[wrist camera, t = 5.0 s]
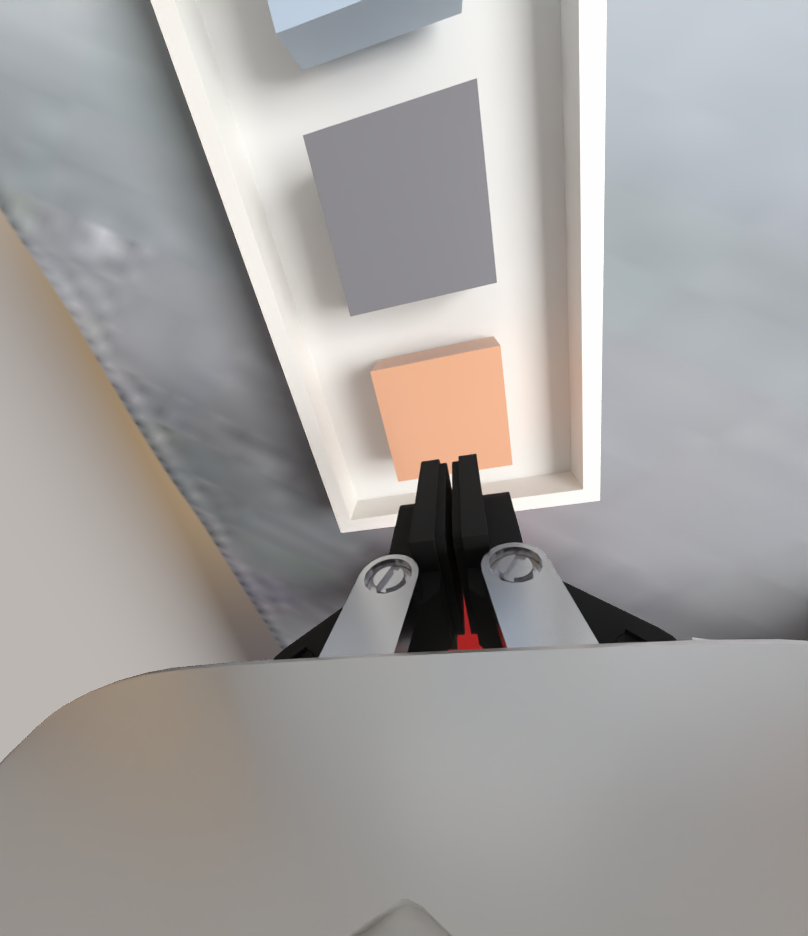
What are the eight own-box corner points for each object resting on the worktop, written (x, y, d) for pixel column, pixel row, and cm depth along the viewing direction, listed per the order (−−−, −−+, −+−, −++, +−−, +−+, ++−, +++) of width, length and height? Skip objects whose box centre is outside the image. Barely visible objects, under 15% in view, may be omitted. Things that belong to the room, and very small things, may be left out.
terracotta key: (493, 336, 18) (500, 345, 16) (505, 444, 20) (512, 465, 18) (378, 359, 19) (369, 371, 17) (402, 460, 21) (398, 481, 19)
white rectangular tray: (570, -470, 10) (616, -743, 7) (581, 472, 22) (599, 500, 19) (115, -216, 12) (25, -348, 10) (352, 504, 25) (341, 532, 22)
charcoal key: (471, 107, 13) (476, 78, 11) (489, 280, 16) (496, 282, 14) (323, 154, 14) (302, 135, 12) (362, 310, 17) (350, 316, 15)
